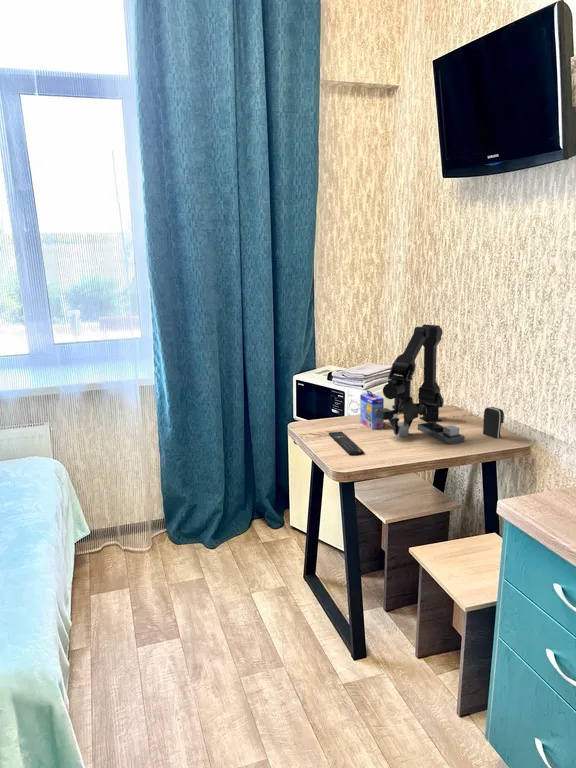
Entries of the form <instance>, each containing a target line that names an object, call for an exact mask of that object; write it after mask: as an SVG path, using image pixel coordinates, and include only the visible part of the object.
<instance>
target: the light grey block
mask: <svg viewBox="0 0 576 768" xmlns="http://www.w3.org/2000/svg"><path fill="white" fill-rule="evenodd" d="M459 434H460V427H457V426H456V425H454V424H453V425H452V424H451V425H446V426H443V435H444V436H446V437H448V438H453V437H459Z"/></svg>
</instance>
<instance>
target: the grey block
mask: <svg viewBox="0 0 576 768" xmlns="http://www.w3.org/2000/svg"><path fill="white" fill-rule="evenodd" d="M409 429H410V428H409V425H408V424H406V423H404V421H402V422H401V421H400V422H398V432H397V435H396V434H395V433H394V432H393V435H394V436H397V437H398V438H403V437H408V436H409V431H410V430H409Z"/></svg>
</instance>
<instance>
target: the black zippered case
mask: <svg viewBox="0 0 576 768" xmlns="http://www.w3.org/2000/svg"><path fill="white" fill-rule="evenodd" d="M504 419H505V412H504V410H503V409H502V408H498V407H494V406H487V407H486V408H484V412H483V424H482V425H483V427H482V434H483V435H485V436H487V437H491V438H493V439H500V438H501V437H502V436H501V426H502V424H504V421H505V420H504Z"/></svg>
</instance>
